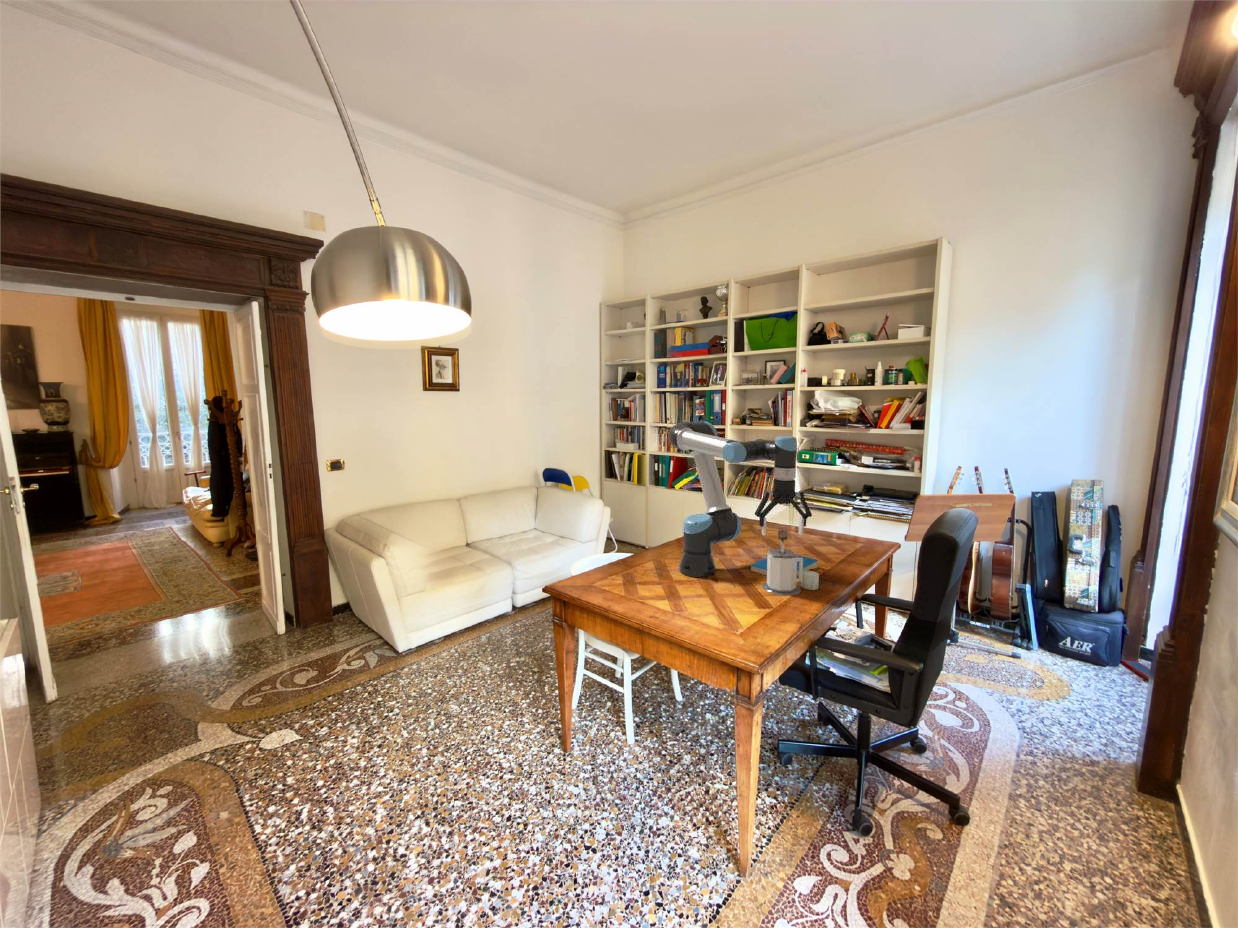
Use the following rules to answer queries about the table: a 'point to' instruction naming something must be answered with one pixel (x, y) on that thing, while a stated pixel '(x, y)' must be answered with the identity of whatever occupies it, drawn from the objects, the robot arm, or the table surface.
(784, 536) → the plunger
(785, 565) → the cafetiere
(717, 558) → the table surface
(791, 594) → the disc
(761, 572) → the book
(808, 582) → the espresso cup
